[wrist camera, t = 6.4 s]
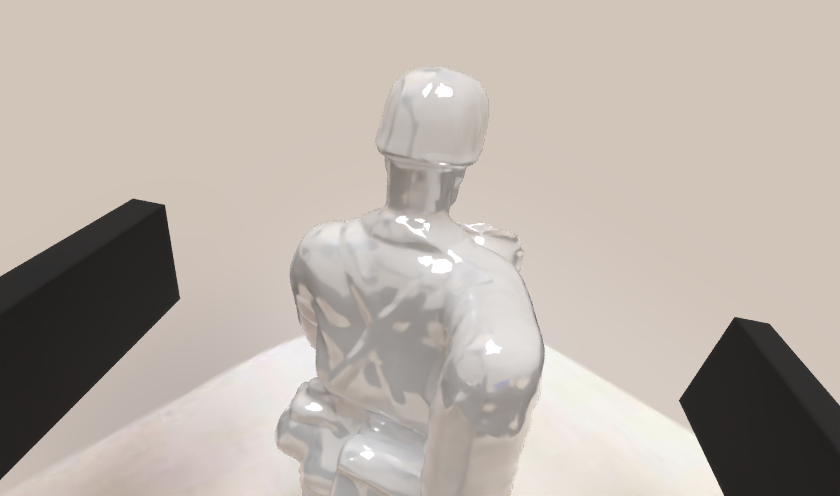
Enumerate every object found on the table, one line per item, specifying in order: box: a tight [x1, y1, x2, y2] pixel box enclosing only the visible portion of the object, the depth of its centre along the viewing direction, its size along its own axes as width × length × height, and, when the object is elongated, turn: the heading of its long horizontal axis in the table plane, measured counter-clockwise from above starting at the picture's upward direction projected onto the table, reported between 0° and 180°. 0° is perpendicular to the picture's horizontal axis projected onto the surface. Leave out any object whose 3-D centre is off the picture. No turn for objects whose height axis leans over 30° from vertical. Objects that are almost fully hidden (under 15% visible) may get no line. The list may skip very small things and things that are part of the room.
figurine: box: [275, 66, 545, 496], centre depth 8 cm, size 5×9×12 cm, turn 177°
